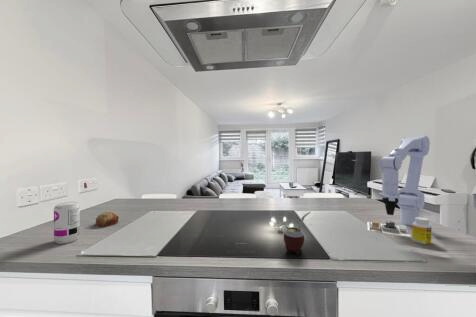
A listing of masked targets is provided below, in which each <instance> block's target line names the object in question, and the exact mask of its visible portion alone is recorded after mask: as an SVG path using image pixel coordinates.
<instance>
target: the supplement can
mask: <svg viewBox="0 0 476 317" xmlns="http://www.w3.org/2000/svg"><path fill="white" fill-rule="evenodd" d="M80 213H81V211H80V204H79V203H78V202H77V201H67V202H61V203H56V204H55V206H54V208H53V242H54V243H56V245H57V244H58V245H63V244H70V243H72V242H75V241H77V240H78V239H79V238H80V237H81V226H80V225H81V222H80V221H81V220H80V219H81V215H80Z"/></svg>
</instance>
